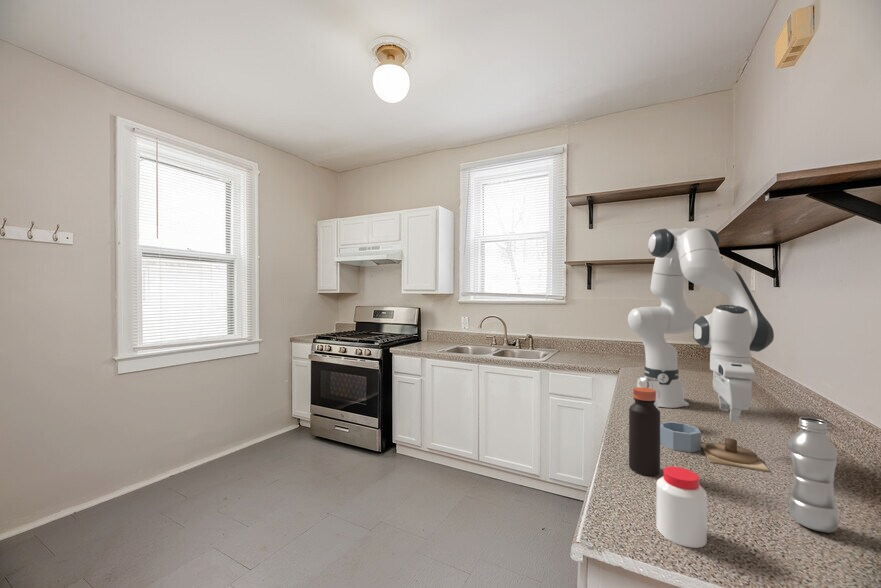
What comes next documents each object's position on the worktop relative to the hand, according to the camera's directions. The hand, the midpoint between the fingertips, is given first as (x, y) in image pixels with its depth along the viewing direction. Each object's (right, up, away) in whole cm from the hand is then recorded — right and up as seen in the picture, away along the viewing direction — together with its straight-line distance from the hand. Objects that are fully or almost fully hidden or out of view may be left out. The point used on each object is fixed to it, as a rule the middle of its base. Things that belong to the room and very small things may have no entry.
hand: (728, 415), depth 100 cm
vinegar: (-28, -11, -9) cm, 31 cm away
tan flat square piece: (0, -11, -1) cm, 11 cm away
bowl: (-9, -11, +7) cm, 16 cm away
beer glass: (-8, -11, +25) cm, 29 cm away
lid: (0, -10, -1) cm, 10 cm away
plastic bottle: (-8, -11, -31) cm, 34 cm away
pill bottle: (-35, -11, -33) cm, 49 cm away
